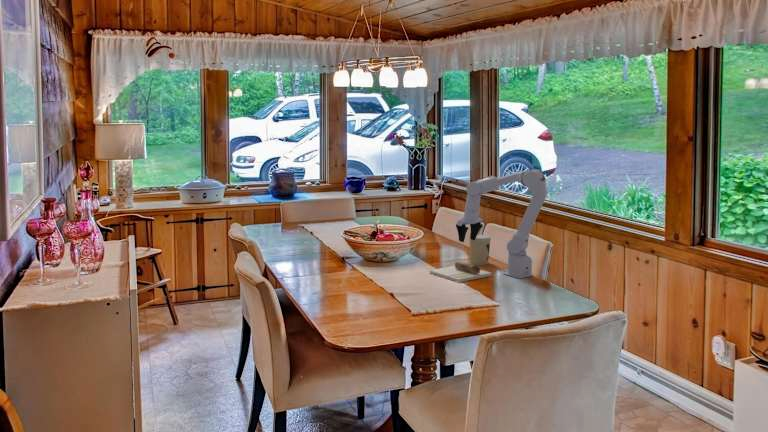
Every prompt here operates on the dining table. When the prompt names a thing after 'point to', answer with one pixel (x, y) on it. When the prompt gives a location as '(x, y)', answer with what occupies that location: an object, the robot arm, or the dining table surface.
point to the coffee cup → (480, 250)
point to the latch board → (458, 274)
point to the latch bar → (467, 267)
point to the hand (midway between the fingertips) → (466, 240)
